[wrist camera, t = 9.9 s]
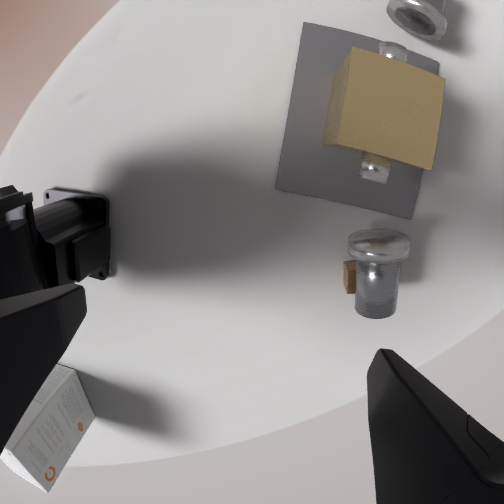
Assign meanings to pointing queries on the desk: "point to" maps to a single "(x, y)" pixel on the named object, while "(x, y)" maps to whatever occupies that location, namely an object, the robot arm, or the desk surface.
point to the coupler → (384, 111)
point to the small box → (49, 429)
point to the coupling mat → (313, 123)
